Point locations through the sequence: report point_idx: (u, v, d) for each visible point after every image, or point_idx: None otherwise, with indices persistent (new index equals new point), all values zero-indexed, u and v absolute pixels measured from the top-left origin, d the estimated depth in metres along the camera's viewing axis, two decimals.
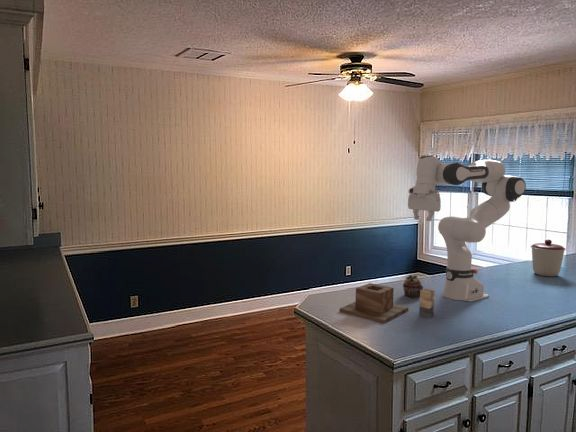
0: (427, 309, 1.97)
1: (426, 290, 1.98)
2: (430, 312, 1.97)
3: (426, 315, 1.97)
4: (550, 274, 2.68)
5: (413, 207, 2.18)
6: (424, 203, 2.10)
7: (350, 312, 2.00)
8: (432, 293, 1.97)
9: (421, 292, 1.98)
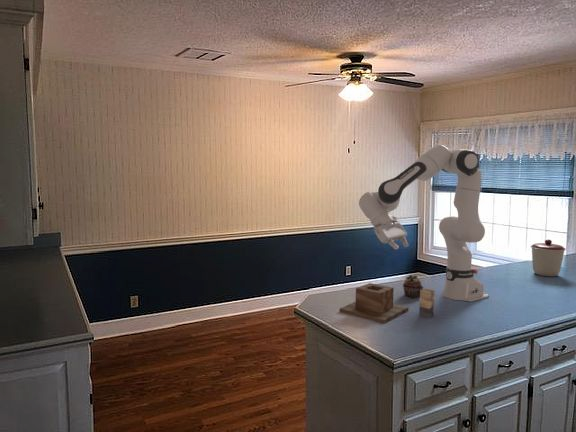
0: (427, 309, 1.97)
1: (426, 290, 1.98)
2: (430, 312, 1.97)
3: (426, 315, 1.97)
4: (550, 274, 2.68)
5: None
6: None
7: (350, 312, 2.00)
8: (432, 293, 1.97)
9: (421, 292, 1.98)
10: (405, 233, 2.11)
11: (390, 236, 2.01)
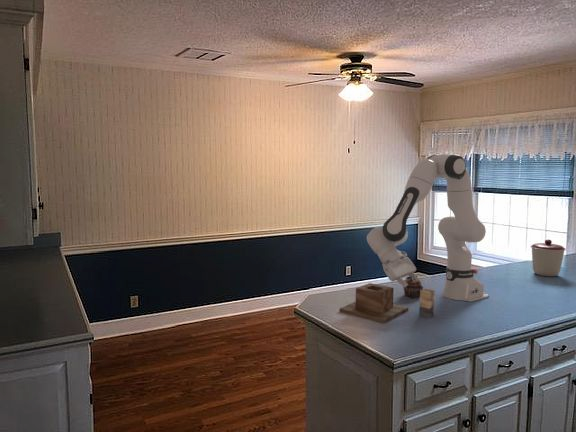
0: (427, 309, 1.97)
1: (426, 290, 1.98)
2: (430, 312, 1.97)
3: (426, 315, 1.97)
4: (550, 274, 2.68)
5: None
6: None
7: (350, 312, 2.00)
8: (432, 293, 1.97)
9: (421, 292, 1.98)
10: (414, 268, 2.10)
11: (399, 273, 1.99)
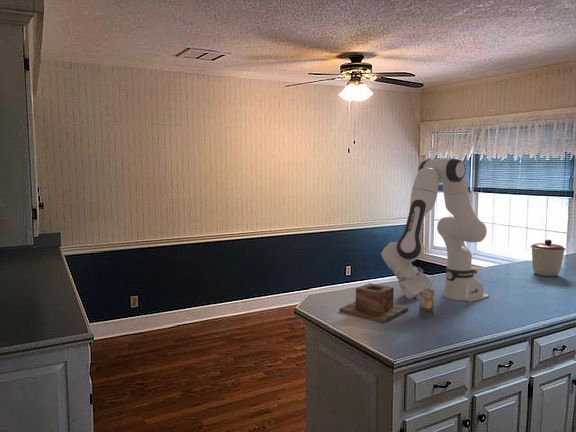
0: (427, 309, 1.97)
1: (426, 290, 1.98)
2: (430, 312, 1.97)
3: (426, 315, 1.97)
4: (550, 274, 2.68)
5: None
6: None
7: (350, 312, 2.00)
8: (432, 293, 1.97)
9: (421, 292, 1.98)
10: (430, 285, 2.06)
11: (415, 291, 1.95)
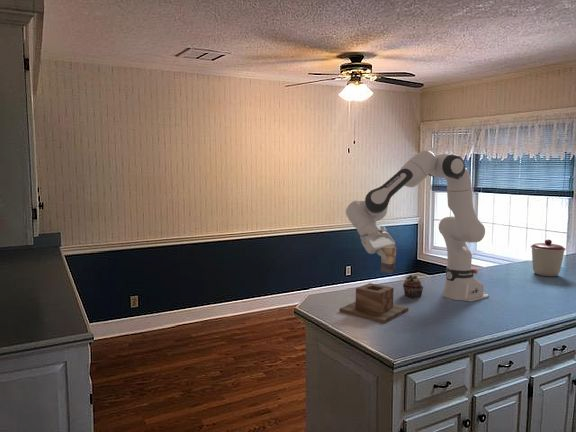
0: (388, 265, 1.98)
1: (388, 246, 2.00)
2: (391, 268, 1.98)
3: (387, 271, 1.98)
4: (550, 274, 2.68)
5: None
6: None
7: (350, 312, 2.00)
8: (393, 249, 1.98)
9: (383, 248, 1.99)
10: (393, 243, 2.07)
11: (377, 246, 1.96)
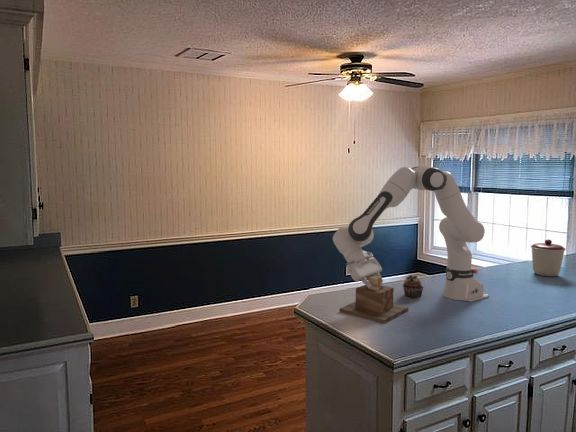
0: None
1: (374, 276, 2.03)
2: None
3: None
4: (550, 274, 2.68)
5: None
6: None
7: (350, 312, 2.00)
8: (379, 279, 2.01)
9: (369, 278, 2.02)
10: (380, 268, 2.10)
11: (363, 274, 1.99)
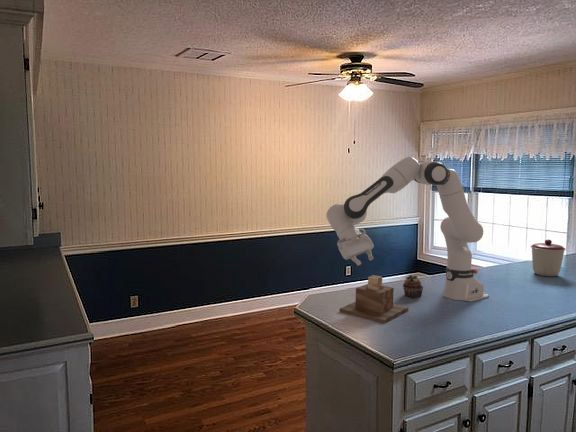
0: None
1: (374, 276, 2.03)
2: None
3: None
4: (550, 274, 2.68)
5: None
6: None
7: (350, 312, 2.00)
8: (379, 279, 2.01)
9: (369, 278, 2.02)
10: (371, 246, 2.14)
11: (352, 252, 2.04)
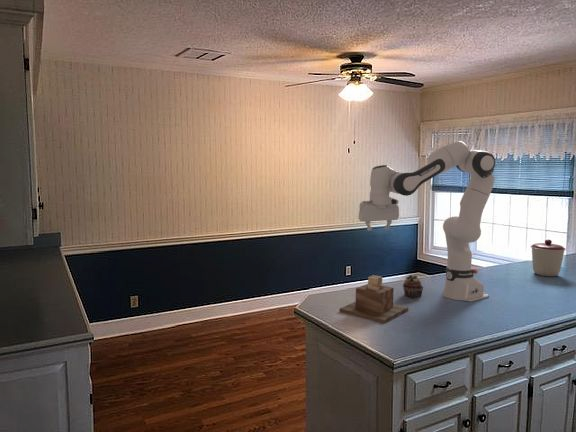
0: None
1: (374, 276, 2.03)
2: None
3: None
4: (550, 274, 2.68)
5: None
6: None
7: (350, 312, 2.00)
8: (379, 279, 2.01)
9: (369, 278, 2.02)
10: (395, 218, 2.16)
11: (369, 218, 2.10)
